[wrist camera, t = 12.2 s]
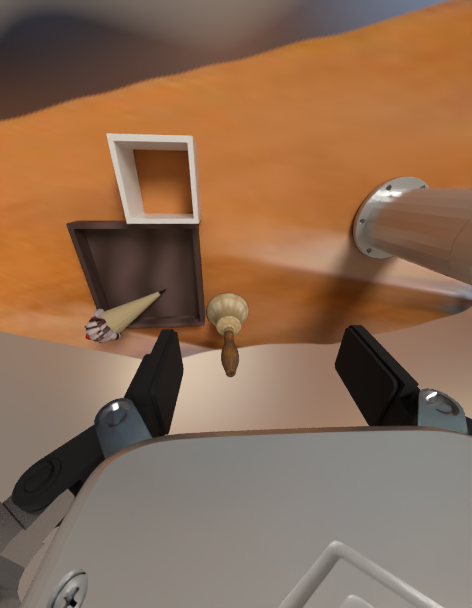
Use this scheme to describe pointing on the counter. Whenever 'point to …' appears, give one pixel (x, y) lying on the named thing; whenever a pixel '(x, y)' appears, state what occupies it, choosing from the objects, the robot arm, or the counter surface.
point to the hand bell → (228, 325)
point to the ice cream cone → (116, 319)
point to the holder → (129, 180)
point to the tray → (143, 269)
